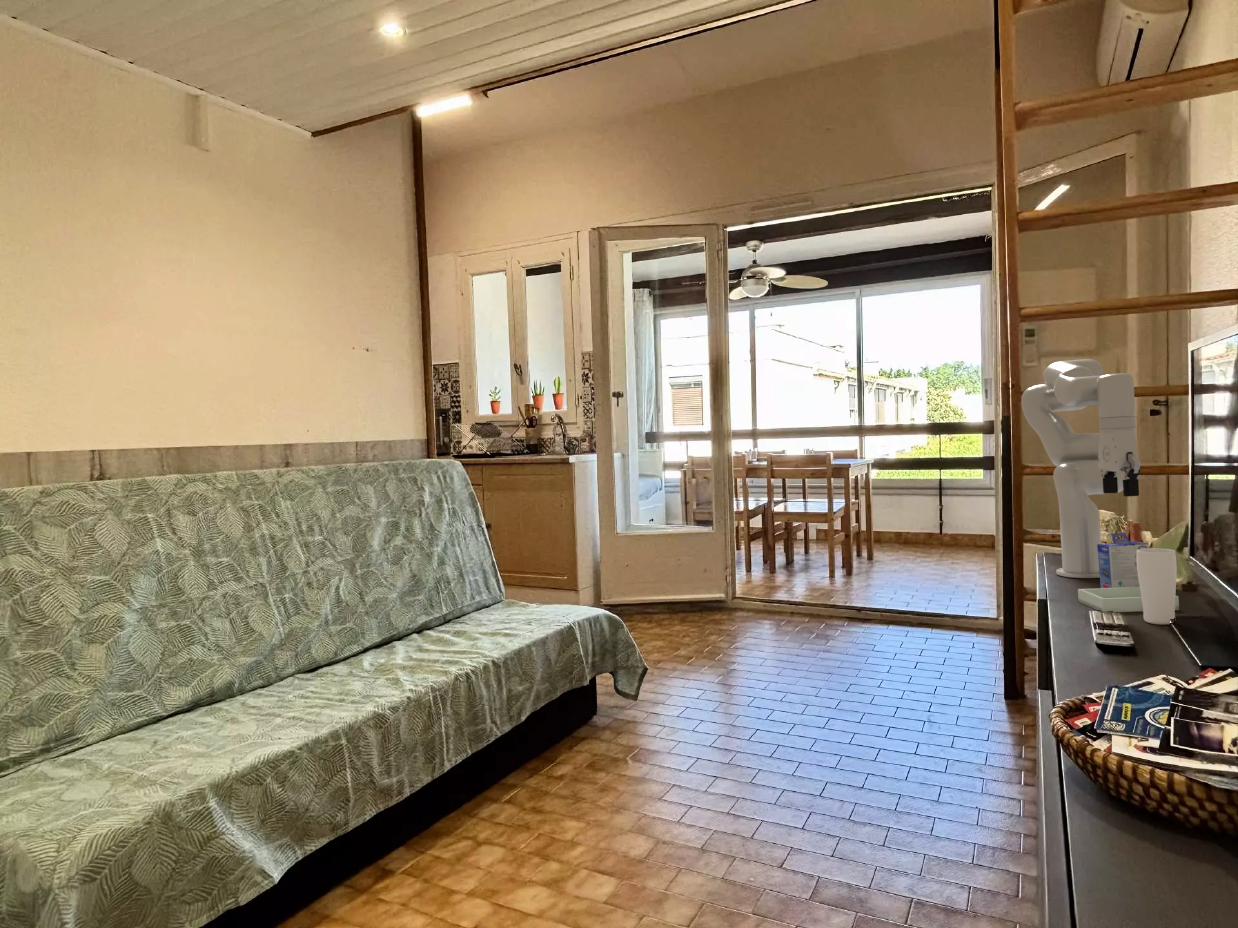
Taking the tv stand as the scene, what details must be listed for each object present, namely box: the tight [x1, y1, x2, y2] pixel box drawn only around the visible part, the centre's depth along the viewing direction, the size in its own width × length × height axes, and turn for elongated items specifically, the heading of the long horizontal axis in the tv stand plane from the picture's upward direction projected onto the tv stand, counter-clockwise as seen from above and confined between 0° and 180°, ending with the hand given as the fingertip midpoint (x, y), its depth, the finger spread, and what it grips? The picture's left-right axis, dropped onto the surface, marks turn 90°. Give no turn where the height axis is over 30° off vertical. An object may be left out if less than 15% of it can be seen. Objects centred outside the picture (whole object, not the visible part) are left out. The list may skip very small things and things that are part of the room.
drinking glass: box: [1136, 547, 1178, 626], centre depth 159 cm, size 7×7×15 cm
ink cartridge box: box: [1097, 532, 1150, 588], centre depth 187 cm, size 10×6×14 cm, turn 89°
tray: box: [1077, 587, 1180, 613], centre depth 174 cm, size 12×16×3 cm
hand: (1120, 494), depth 187 cm, fingers open, 9 cm apart
